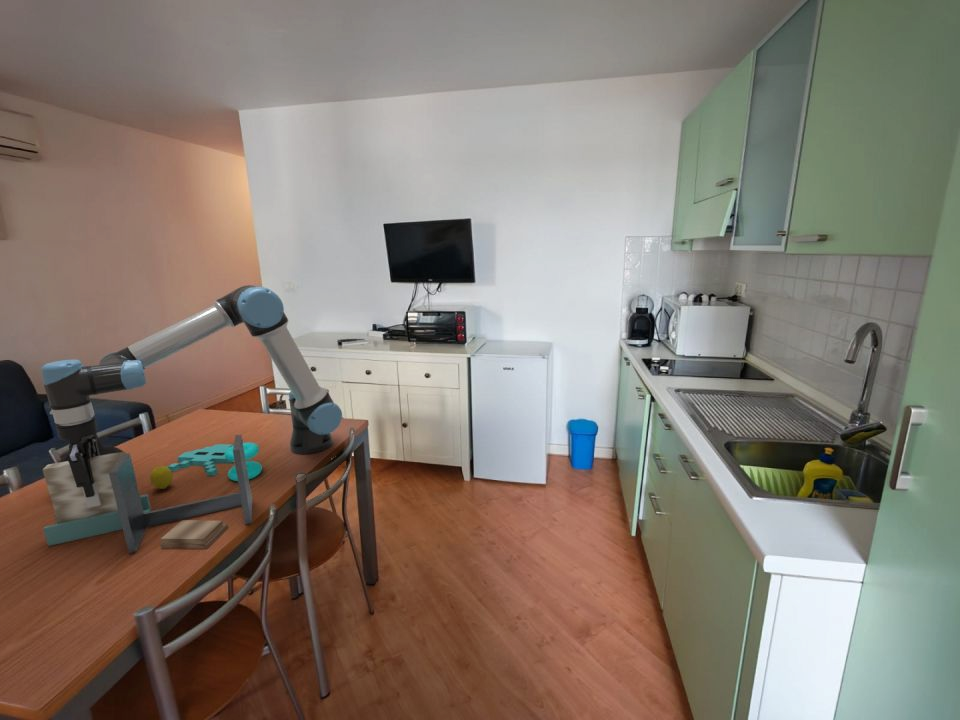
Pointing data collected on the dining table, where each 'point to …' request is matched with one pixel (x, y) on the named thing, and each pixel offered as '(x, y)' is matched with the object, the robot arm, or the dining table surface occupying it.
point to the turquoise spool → (252, 466)
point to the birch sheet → (80, 488)
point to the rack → (138, 521)
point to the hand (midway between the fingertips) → (97, 502)
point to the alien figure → (203, 458)
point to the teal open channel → (87, 526)
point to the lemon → (161, 477)
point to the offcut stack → (193, 534)
